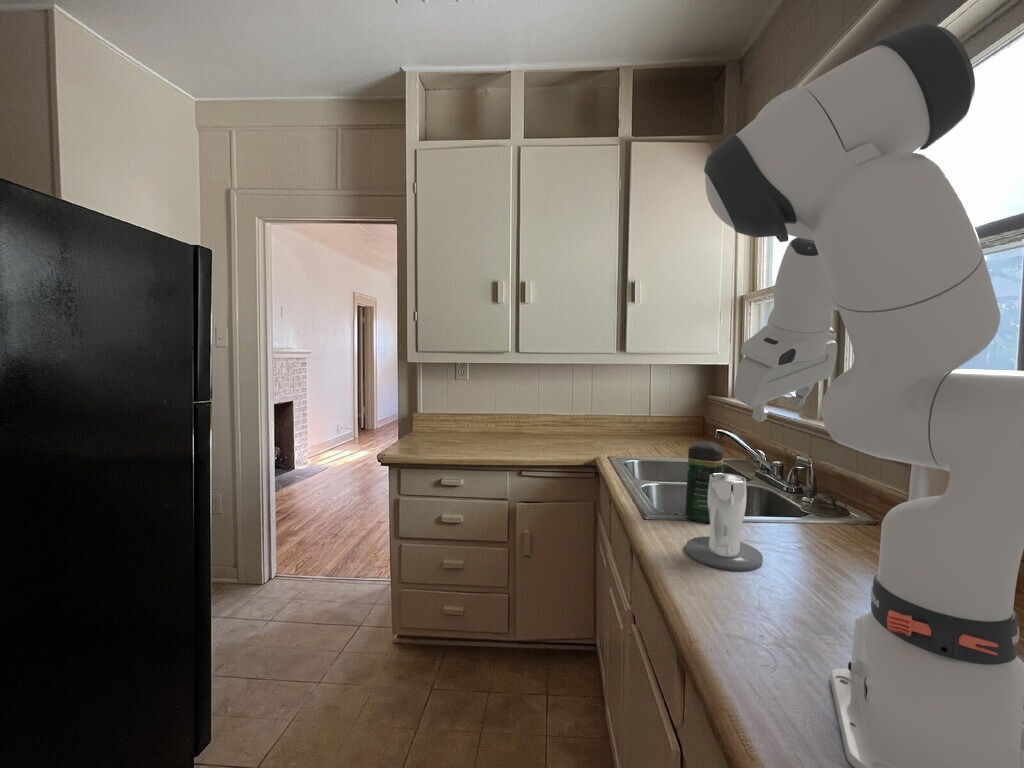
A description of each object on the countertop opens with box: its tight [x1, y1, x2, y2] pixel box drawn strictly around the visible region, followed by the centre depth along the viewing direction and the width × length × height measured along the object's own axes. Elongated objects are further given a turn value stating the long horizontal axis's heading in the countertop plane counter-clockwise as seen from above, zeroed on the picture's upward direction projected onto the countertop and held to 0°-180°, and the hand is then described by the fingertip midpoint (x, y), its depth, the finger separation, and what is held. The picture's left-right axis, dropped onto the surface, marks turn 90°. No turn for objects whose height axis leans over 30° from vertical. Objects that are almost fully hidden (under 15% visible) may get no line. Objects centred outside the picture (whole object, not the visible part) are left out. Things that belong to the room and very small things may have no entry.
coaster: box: [685, 536, 764, 572], centre depth 96 cm, size 14×14×1 cm
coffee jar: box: [684, 440, 724, 524], centre depth 117 cm, size 10×8×19 cm
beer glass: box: [707, 472, 748, 558], centre depth 95 cm, size 7×7×15 cm
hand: (778, 411), depth 85 cm, fingers open, 8 cm apart
